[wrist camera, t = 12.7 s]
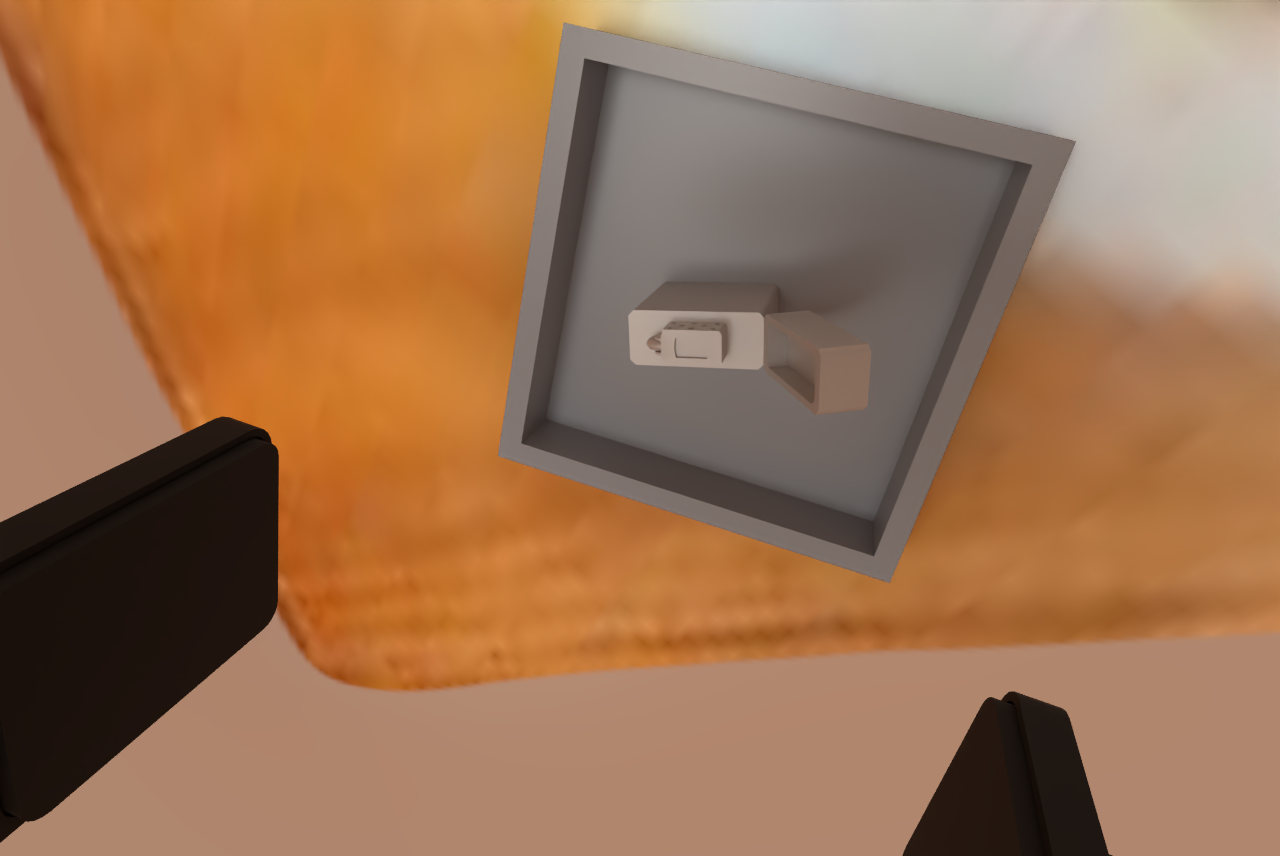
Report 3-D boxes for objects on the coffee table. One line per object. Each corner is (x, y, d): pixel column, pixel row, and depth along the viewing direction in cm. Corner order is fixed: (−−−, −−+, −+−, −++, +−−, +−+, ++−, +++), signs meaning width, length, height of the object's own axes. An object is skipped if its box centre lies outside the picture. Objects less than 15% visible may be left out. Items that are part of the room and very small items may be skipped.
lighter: (662, 329, 29) (594, 405, 21) (660, 281, 28) (589, 342, 21) (866, 335, 27) (866, 419, 20) (870, 284, 26) (872, 352, 19)
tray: (1052, 136, 24) (1076, 141, 21) (887, 539, 30) (889, 582, 27) (594, 30, 26) (563, 22, 23) (528, 426, 32) (498, 455, 29)
